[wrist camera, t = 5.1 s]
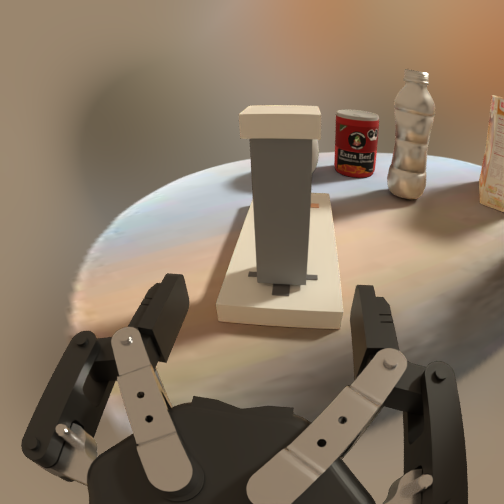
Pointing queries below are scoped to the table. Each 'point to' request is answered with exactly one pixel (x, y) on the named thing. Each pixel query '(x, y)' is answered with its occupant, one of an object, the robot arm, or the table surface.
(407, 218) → the table surface
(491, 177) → the coffeecake box
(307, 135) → the slider knob
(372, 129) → the canned food
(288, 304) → the fader deck
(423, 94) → the plastic bottle
